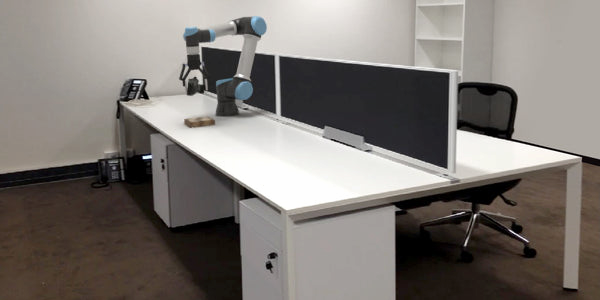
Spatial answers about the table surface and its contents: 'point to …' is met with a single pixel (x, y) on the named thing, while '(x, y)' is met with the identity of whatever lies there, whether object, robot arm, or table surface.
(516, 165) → the table surface
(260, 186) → the table surface
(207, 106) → the table surface
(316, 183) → the table surface
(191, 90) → the camera
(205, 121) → the plinth
